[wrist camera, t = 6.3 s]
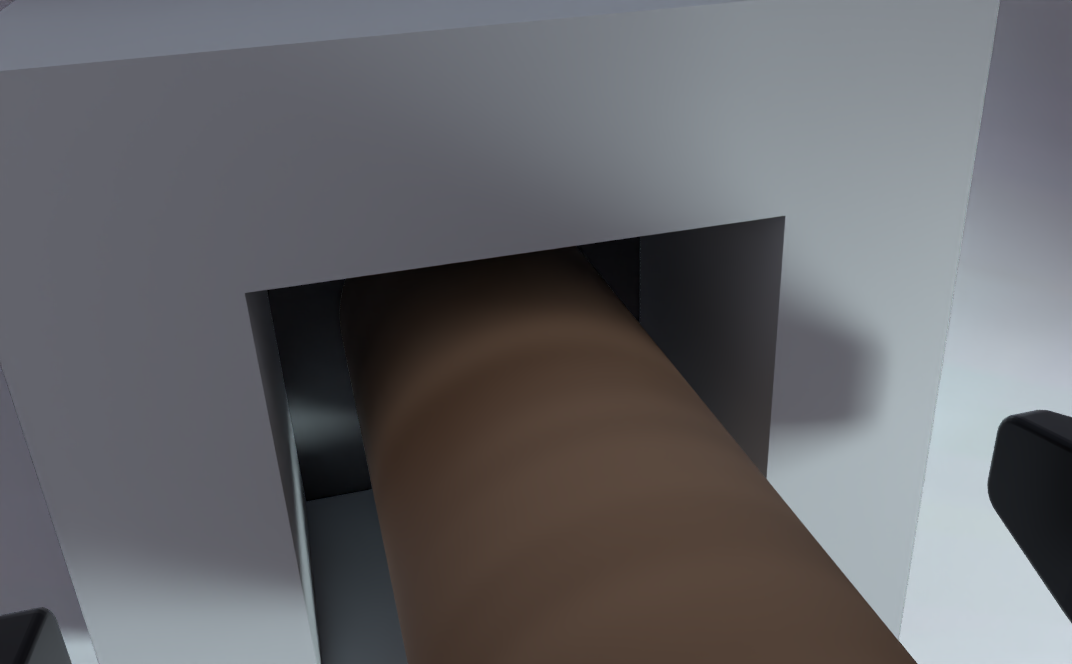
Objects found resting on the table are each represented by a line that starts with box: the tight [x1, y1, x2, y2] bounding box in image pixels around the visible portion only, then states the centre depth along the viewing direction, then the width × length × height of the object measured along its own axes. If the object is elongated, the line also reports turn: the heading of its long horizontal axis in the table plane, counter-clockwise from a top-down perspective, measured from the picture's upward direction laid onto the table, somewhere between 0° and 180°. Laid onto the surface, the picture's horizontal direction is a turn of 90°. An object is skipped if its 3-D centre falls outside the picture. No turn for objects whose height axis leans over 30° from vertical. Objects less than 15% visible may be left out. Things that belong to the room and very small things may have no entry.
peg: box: [339, 246, 917, 664], centre depth 10 cm, size 3×3×9 cm
